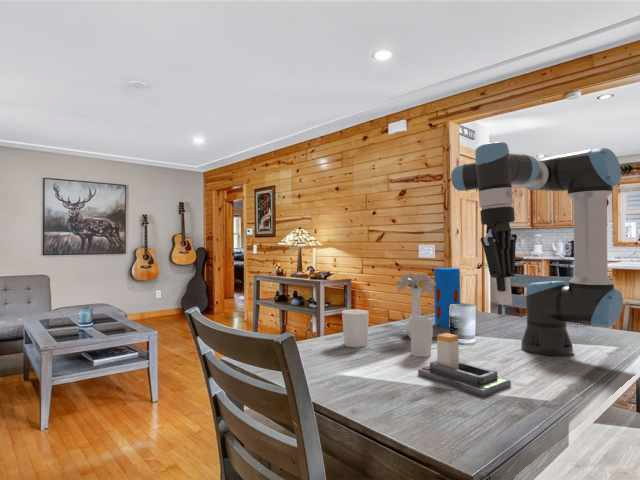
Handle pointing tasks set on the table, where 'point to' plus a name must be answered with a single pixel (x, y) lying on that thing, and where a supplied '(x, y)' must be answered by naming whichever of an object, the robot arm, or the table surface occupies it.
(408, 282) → the flower vase
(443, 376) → the dark gray tray
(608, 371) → the table surface
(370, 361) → the table surface
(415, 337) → the mug
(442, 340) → the toggle
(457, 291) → the leaf-print blue block
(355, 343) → the candle holder
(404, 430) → the table surface
